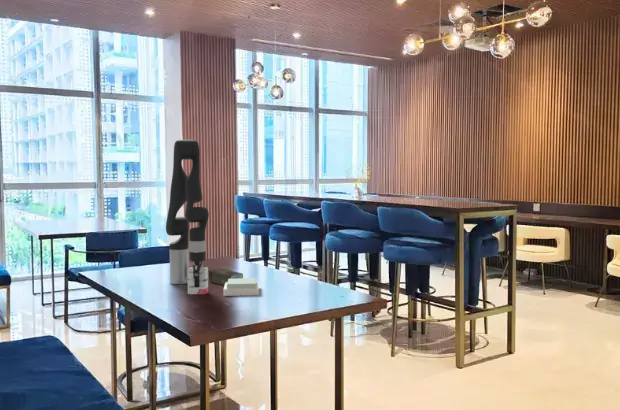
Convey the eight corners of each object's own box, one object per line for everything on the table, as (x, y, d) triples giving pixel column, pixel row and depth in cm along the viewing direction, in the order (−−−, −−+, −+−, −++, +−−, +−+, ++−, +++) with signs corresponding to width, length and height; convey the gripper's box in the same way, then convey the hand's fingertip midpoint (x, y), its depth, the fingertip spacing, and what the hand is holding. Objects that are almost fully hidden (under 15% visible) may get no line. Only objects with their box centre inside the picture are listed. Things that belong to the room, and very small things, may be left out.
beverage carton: (230, 287, 271) (230, 274, 271) (208, 282, 285) (207, 269, 285) (243, 285, 277) (243, 272, 277) (220, 280, 291) (220, 267, 290)
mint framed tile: (225, 288, 268) (225, 278, 267) (259, 287, 269) (259, 277, 269) (223, 295, 252) (223, 284, 252) (259, 295, 253) (259, 284, 253)
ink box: (208, 292, 260) (208, 266, 259) (205, 294, 255) (205, 268, 254) (190, 291, 261) (190, 266, 260) (187, 294, 256) (186, 268, 255)
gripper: (191, 248, 263) (191, 282, 264) (187, 252, 249) (187, 288, 250) (207, 248, 264) (207, 282, 265) (204, 252, 250) (204, 288, 251)
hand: (197, 285), depth 257 cm, fingers open, 8 cm apart
